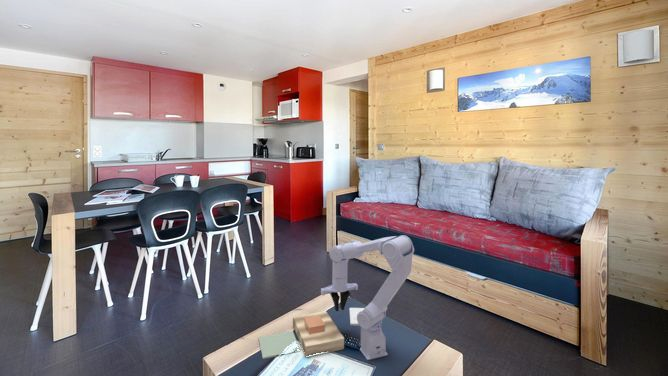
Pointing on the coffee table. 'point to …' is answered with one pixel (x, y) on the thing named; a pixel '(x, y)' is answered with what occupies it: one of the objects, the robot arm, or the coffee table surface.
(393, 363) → the coffee table surface
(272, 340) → the mat
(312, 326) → the tile
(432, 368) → the coffee table surface
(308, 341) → the wavy block
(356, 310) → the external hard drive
